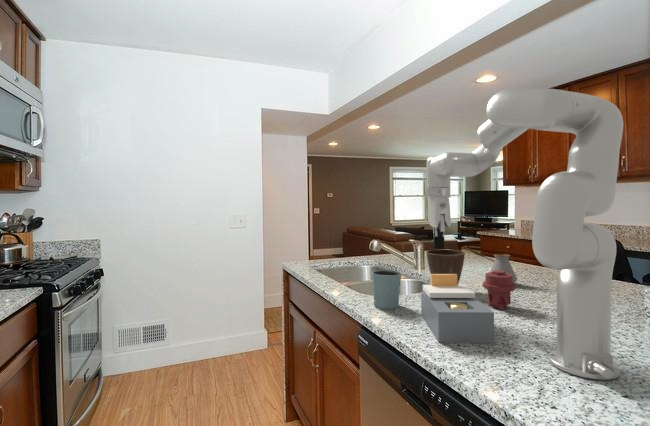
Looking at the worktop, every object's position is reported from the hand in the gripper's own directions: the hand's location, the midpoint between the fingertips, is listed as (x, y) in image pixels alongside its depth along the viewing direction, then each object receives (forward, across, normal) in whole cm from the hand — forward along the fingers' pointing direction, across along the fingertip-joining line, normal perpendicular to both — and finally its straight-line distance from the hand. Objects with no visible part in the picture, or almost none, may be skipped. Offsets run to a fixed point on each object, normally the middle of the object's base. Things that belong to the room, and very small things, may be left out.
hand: (438, 248), depth 116 cm
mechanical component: (+21, +4, -21) cm, 30 cm away
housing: (+21, -16, 0) cm, 26 cm away
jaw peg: (+19, -21, 0) cm, 28 cm away
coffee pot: (+21, +40, -32) cm, 55 cm away
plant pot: (+21, +26, -9) cm, 35 cm away
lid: (+13, -10, 0) cm, 16 cm away
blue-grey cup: (+21, +5, +17) cm, 28 cm away
